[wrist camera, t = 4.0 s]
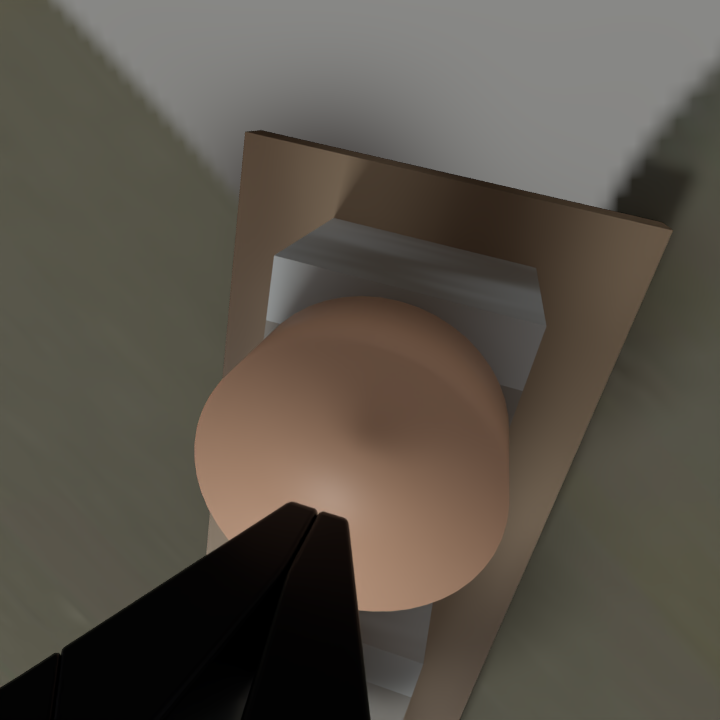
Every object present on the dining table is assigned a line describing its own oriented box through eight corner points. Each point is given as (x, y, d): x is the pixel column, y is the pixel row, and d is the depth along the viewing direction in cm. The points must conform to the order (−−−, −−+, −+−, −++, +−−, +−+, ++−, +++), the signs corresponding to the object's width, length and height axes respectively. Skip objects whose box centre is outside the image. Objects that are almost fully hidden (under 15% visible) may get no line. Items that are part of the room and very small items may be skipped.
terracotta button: (537, 275, 13) (558, 396, 7) (475, 455, 15) (457, 649, 10) (326, 222, 13) (205, 299, 8) (296, 402, 16) (186, 556, 10)
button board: (662, 222, 13) (739, 279, 9) (410, 813, 25) (389, 968, 20) (261, 129, 15) (152, 140, 10) (198, 732, 26) (134, 861, 21)
